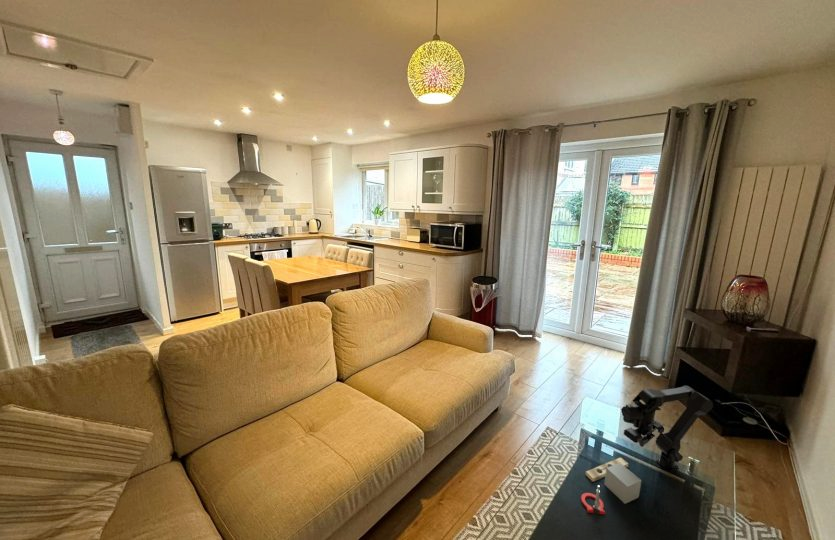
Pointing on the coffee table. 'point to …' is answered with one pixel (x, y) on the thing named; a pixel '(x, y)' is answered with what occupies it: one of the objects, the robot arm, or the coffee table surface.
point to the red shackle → (598, 502)
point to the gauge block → (622, 482)
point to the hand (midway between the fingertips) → (641, 446)
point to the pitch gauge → (603, 469)
